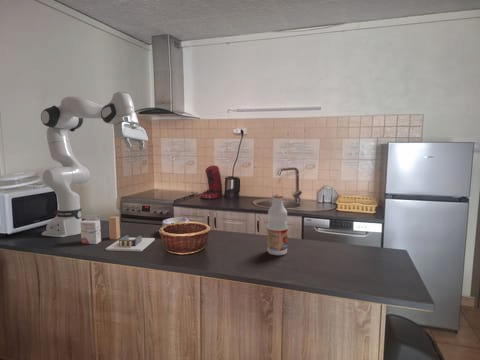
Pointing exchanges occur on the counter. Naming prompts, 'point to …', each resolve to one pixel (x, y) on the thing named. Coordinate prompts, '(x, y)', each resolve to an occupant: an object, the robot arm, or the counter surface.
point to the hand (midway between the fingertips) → (136, 148)
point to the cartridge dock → (130, 244)
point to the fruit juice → (277, 227)
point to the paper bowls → (174, 221)
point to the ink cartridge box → (91, 230)
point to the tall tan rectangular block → (114, 227)
